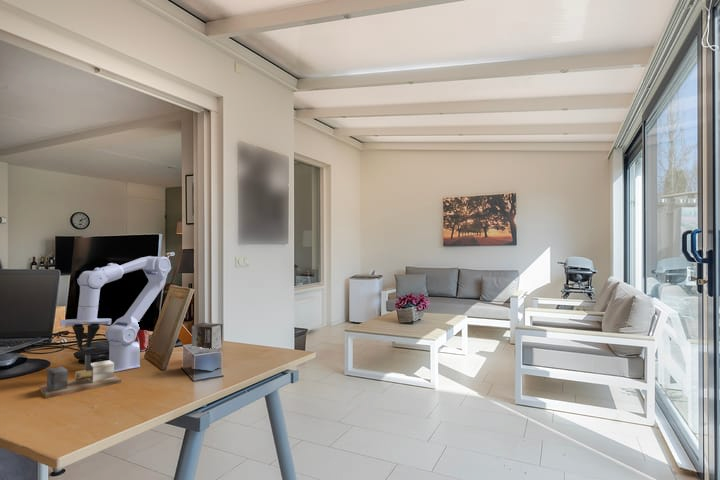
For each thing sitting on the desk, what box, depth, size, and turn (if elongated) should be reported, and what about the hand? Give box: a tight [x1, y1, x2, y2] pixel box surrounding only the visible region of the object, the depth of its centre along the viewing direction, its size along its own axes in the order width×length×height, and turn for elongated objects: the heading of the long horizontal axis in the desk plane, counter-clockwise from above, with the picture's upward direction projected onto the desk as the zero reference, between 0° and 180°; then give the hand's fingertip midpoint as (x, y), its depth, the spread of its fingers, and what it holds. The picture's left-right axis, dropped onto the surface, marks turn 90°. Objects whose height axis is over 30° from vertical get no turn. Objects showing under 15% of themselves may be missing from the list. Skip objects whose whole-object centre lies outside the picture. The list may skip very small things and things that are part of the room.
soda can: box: [134, 329, 150, 352], centre depth 178 cm, size 5×5×12 cm
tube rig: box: [38, 360, 122, 399], centre depth 133 cm, size 20×10×6 cm, turn 137°
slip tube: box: [74, 353, 93, 381], centre depth 135 cm, size 9×3×7 cm, turn 137°
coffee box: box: [191, 322, 224, 356], centre depth 154 cm, size 9×6×16 cm
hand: (83, 346), depth 141 cm, fingers closed
